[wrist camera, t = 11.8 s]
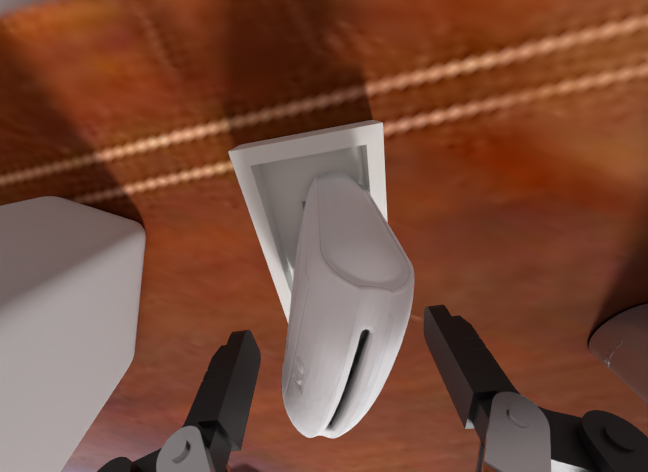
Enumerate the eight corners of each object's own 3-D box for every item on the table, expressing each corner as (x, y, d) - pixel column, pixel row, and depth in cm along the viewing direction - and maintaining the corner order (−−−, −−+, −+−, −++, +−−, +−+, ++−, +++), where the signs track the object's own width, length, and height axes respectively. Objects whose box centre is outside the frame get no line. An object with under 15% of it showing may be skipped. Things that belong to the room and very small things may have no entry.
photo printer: (338, 287, 22) (363, 471, 11) (290, 281, 21) (267, 468, 10) (370, 176, 17) (473, 307, 6) (310, 164, 16) (306, 286, 6)
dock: (373, 119, 16) (382, 122, 14) (383, 290, 23) (391, 311, 21) (240, 144, 16) (228, 151, 14) (291, 304, 24) (289, 326, 21)
